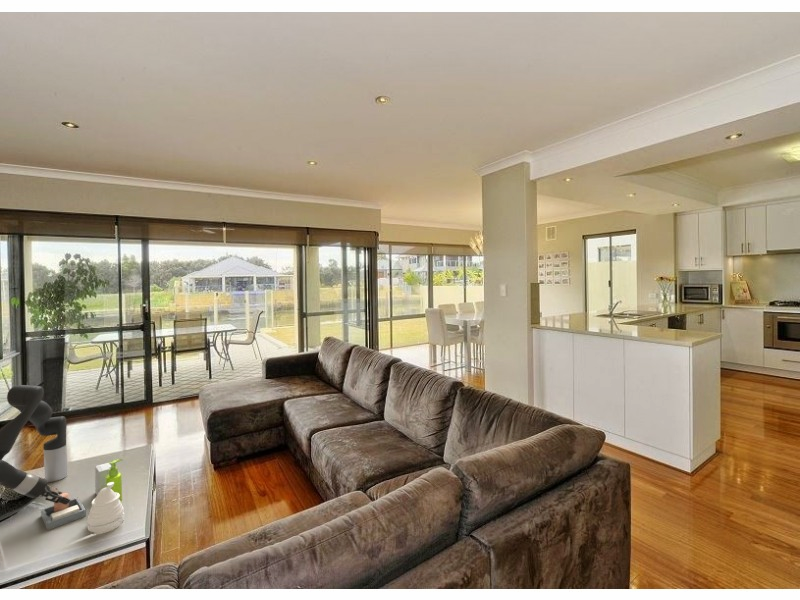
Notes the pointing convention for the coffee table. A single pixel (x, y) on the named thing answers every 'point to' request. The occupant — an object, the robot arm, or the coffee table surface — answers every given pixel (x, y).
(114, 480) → the soap dispenser
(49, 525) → the tray
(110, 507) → the honey pot
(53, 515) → the cream rectangular block
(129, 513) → the coffee table surface
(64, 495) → the peach rounded ovoid
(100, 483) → the skincare box
